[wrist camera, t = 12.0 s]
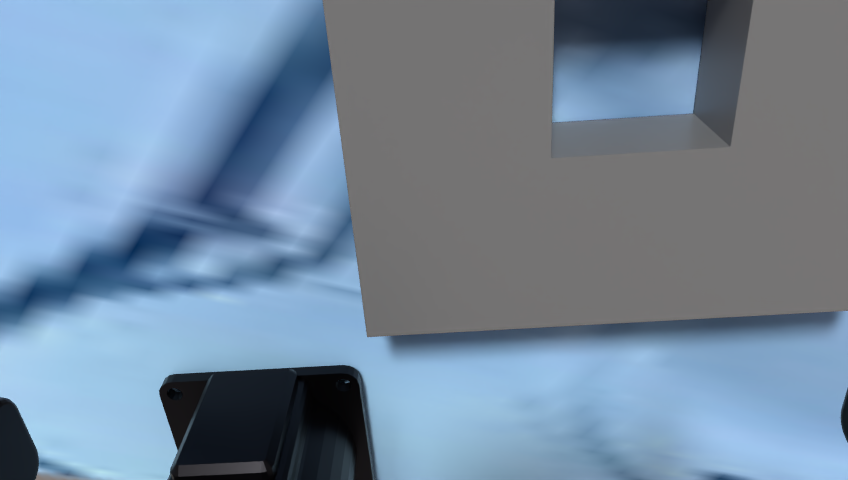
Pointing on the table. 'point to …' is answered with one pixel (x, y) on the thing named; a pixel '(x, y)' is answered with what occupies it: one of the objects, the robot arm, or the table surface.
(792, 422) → the table surface
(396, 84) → the keyhole plate
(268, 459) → the robot arm
